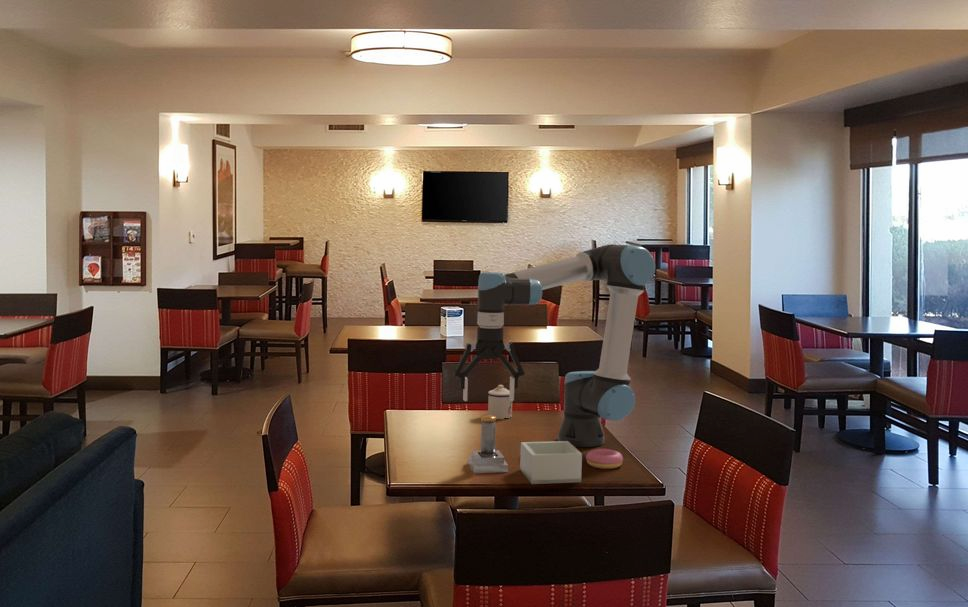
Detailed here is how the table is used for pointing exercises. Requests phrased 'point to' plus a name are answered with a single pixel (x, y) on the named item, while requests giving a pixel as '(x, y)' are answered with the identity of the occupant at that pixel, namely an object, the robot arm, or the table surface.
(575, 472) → the bin
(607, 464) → the doughnut
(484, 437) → the gold topped grey cylinder
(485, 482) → the table surface
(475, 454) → the grey square socket base
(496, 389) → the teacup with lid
